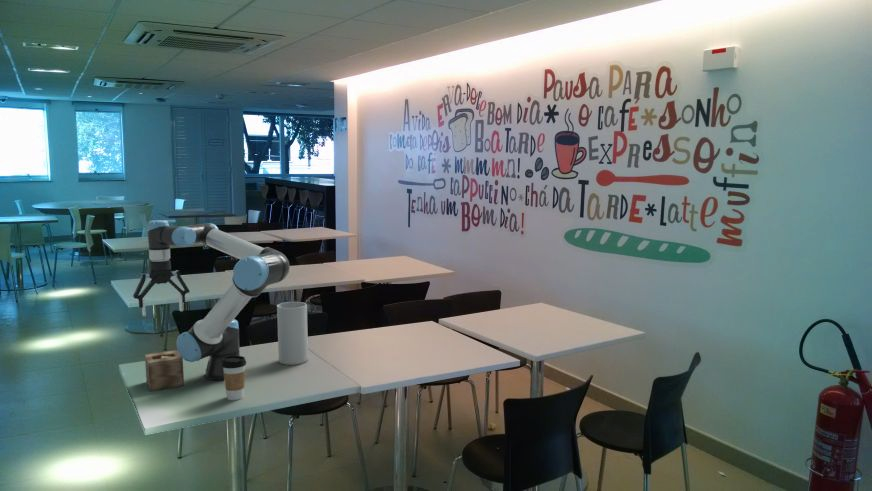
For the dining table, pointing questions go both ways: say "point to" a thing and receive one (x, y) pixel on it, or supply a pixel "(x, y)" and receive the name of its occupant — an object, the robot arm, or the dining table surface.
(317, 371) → the dining table surface
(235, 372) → the coffee cup
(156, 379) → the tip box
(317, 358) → the dining table surface
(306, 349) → the cylinder vase
